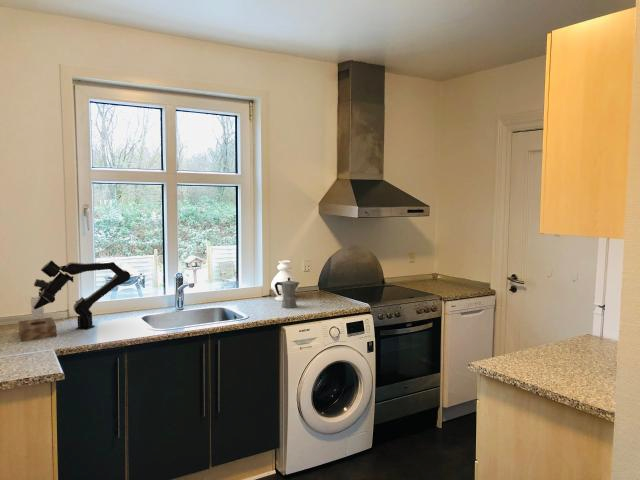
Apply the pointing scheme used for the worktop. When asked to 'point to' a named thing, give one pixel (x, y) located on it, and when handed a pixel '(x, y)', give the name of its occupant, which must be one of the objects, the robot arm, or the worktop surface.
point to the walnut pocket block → (37, 329)
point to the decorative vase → (282, 277)
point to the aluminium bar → (36, 312)
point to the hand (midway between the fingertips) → (34, 307)
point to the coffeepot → (288, 293)
